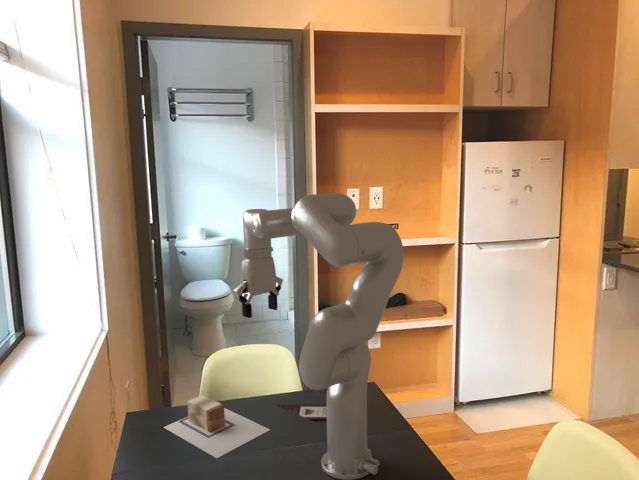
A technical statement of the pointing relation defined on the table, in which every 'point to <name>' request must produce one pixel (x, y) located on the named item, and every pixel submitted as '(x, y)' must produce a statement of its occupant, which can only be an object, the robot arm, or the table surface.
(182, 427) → the mat
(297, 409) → the chocolate bar
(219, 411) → the block
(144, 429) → the table surface
